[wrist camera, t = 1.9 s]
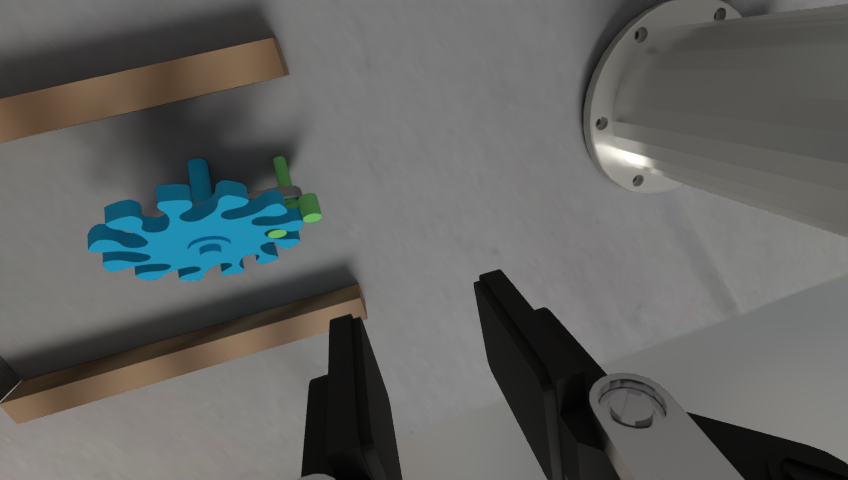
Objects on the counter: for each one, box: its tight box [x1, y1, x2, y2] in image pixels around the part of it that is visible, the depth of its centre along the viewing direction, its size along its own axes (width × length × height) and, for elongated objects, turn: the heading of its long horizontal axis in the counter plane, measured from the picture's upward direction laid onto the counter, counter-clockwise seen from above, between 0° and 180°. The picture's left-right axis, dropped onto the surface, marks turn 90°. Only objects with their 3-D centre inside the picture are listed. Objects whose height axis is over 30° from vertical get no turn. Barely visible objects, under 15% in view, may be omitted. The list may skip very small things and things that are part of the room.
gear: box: [88, 156, 322, 281], centre depth 22 cm, size 11×6×10 cm
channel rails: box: [0, 38, 367, 424], centre depth 24 cm, size 23×18×2 cm
